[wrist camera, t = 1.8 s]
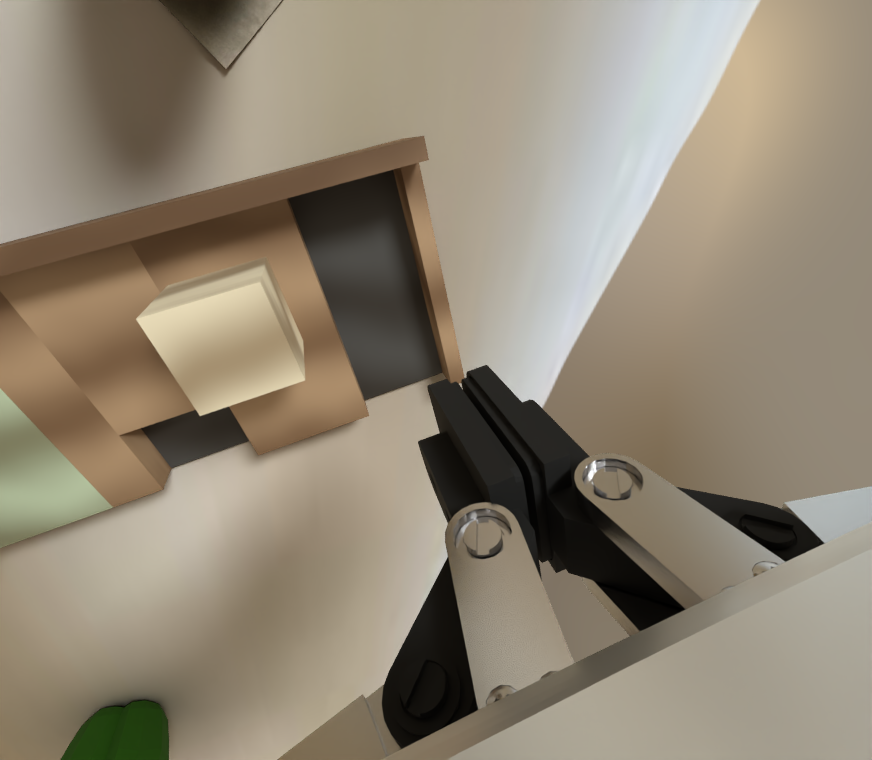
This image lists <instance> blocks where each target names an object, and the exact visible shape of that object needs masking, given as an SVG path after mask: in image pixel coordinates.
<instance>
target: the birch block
mask: <svg viewBox="0 0 872 760" xmlns="http://www.w3.org/2000/svg"><path fill="white" fill-rule="evenodd" d="M136 320H137V322H138V323H139V325H140V326H141V328H142V329H143V331H144V332H145V334H146V335H147V337H148V338H149V340H150V341H151V343H152V344H153V346H154V347H155V349H156V350H157V352H158V353H159V355H160V356H161V358H162V359H163V361H164V362H165V364H166V365H167V367H168V368H169V370H170V371H171V373H172V374H173V376H174V377H175V379H176V380H177V382H178V384H179V385H180V387H181V388H182V390H183V391H184V393H185V394H186V396H187V397H188V399H189V400H190V402H191V403H192V405H193V406H194V408H195V409H196V411H197V412H198V414H199V415H200V416H202V415H205V414H208V413H211V412H214V411H217V410H220V409H222V408H225V407H228V406H231V405H234V404H237V403H240V402H243V401H246V400H249V399H252V398H255V397H258V396H261V395H264V394H267V393H270V392H273V391H276V390H279V389H282V388H285V387H288V386H290V385H293V384H296V383H299V382H302V381H305V364H304V346H303V339H302V337H301V335H300V332H299V330H298V328H297V325H296V323H295V321H294V319H293V316H292V314H291V312H290V309H289V307H288V305H287V303H286V300H285V298H284V296H283V293H282V291H281V289H280V287H279V284H278V282H277V280H276V277H275V275H274V273H273V270H272V268H271V266H270V264H269V261H268V259H267V257H264V258H260V259H257V260H253V261H250V262H246V263H243V264H239V265H236V266H233V267H229V268H226V269H222V270H219V271H215V272H212V273H208V274H205V275H202V276H198V277H195V278H191V279H188V280H184V281H181V282H177V283H174V284H171V285H168V286H167V287H166V288H165V289H164V290H163V291H162V292H161V293H160V294H159V295H158V296H157V297H156V298H155V299H154V300H153V301H152V302H151V304H150V305H149V306H148V307H147V308H146V309H145V310H144V311H143V312H142V313H141V314H140V315H139V316H138V317H137V318H136Z"/></svg>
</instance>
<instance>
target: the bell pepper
mask: <svg viewBox="0 0 872 760" xmlns="http://www.w3.org/2000/svg"><path fill="white" fill-rule="evenodd" d="M61 760H169V733H168V719H167V717H166V715H165V713H164V711H163V709H162V708H161V707H160V705H159V704H158V703H154V702H150V701H147V700H143V701H136V702H131V703H130V704H128V705H127V706H126V707H117V706H115V707H108V708H102V709H100V710H99V711H98V712H96V713H95V714H94V715H93V716H91V717H90V718H89V719H88V720H87V721H86V722H85V723H84V724H83V725H82V726H81V728H80V729H79V731H78V732H77V734H76V735H75V737H74V739H73V740H72V742H71V743H70V745H69V746H68V748H67V750H66V751H65V753H64V755H63V756H62V758H61Z"/></svg>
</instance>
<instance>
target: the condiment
mask: <svg viewBox="0 0 872 760" xmlns="http://www.w3.org/2000/svg"><path fill="white" fill-rule="evenodd" d="M160 1H161V2H162V3H163V4H164V5H165V6H166V7H167V8H168V10H169V11H170V12H171V13H172V14H173V15H174V16H175V17H176V18H177V19H178V20H179V21H180V22H181V23H182V24H183V25H184V26H185V27H186V28H187V29H188V30H189V31H190V32H191V33H192V34H193V35H194V36H195V38H196V39H197V40H198V41H199V42H200V43H201V44H202V45H203V46H204V47H205V48H206V49H207V50H208V51H209V52H210V53H211V54H212V55H213V56H214V57H215V58H216V59H217V60H218V61H219V62H220V63H221V64H222V65H223V66H224V68H225V69H227V67H228V66H229V65H230V64H231V63H232V61H233V60H234V59H235V58H236V56H237V55H238V54H239V53H240V52H241V51H242V49H243V48H244V47H245V46H246V44H247V43H248V42H249V41H250V39H251V38H252V37H253V36H254V34H255V33H256V32H257V30H258V29H259V28H260V27H261V26H262V25H263V24H264V22H265V21H266V20H267V18H268V17H269V16H270V15H271V13H272V12H273V11H274V10H275V8H276V7H277V6H278V5H279V3H280V2H281V1H282V0H160Z"/></svg>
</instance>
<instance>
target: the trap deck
mask: <svg viewBox="0 0 872 760" xmlns="http://www.w3.org/2000/svg"><path fill="white" fill-rule="evenodd" d="M426 160H429V159H428V154H427V149H426V144H425V139H424V136H420V137H413V138H405V139H400V140H396V141H392V142H388V143H384V144H381V145H377V146H373V147H369V148H365V149H362V150H358V151H354V152H350V153H346V154H342V155H339V156H335V157H331V158H327V159H323V160H320V161H316V162H312V163H308V164H304V165H300V166H297V167H293V168H289V169H285V170H281V171H278V172H274V173H270V174H266V175H262V176H258V177H255V178H251V179H247V180H243V181H239V182H236V183H232V184H228V185H224V186H220V187H216V188H213V189H209V190H205V191H201V192H197V193H194V194H190V195H186V196H182V197H178V198H174V199H171V200H167V201H163V202H159V203H155V204H152V205H148V206H144V207H140V208H136V209H132V210H129V211H125V212H121V213H117V214H113V215H110V216H106V217H102V218H98V219H94V220H90V221H87V222H83V223H79V224H75V225H71V226H68V227H64V228H60V229H56V230H52V231H48V232H45V233H41V234H37V235H33V236H29V237H26V238H22V239H18V240H14V241H10V242H6V243H3V244H0V548H2V547H5V546H8V545H10V544H13V543H16V542H19V541H21V540H24V539H27V538H30V537H33V536H35V535H38V534H41V533H44V532H47V531H49V530H52V529H55V528H58V527H61V526H63V525H66V524H69V523H72V522H74V521H77V520H80V519H83V518H86V517H88V516H91V515H94V514H97V513H100V512H102V511H105V510H108V509H111V508H113V507H116V506H119V505H121V504H124V503H127V502H130V501H132V500H135V499H138V498H141V497H144V496H146V495H149V494H152V493H155V492H158V491H160V490H163V489H164V486H165V483H166V481H167V478H168V476H169V473H170V470H171V468H173V467H176V466H179V465H181V464H184V463H187V462H190V461H193V460H196V459H198V458H201V457H204V456H207V455H210V454H213V453H215V452H218V451H221V450H224V449H227V448H230V447H232V446H235V445H238V444H241V443H244V442H247V441H250V442H251V444H252V446H253V447H254V449H255V451H256V452H257V454H258V455H261V454H264V453H266V452H269V451H272V450H275V449H277V448H280V447H283V446H286V445H289V444H291V443H294V442H297V441H300V440H303V439H305V438H308V437H311V436H314V435H317V434H319V433H322V432H325V431H328V430H330V429H333V428H336V427H339V426H342V425H344V424H347V423H350V422H353V421H356V420H358V419H361V418H364V417H367V416H369V414H368V410H367V407H366V403H365V400H366V399H369V398H372V397H374V396H377V395H380V394H383V393H386V392H389V391H391V390H394V389H397V388H400V387H403V386H406V385H408V384H411V383H414V382H417V381H420V380H423V379H425V378H428V377H431V376H434V375H437V374H440V373H442V372H443V374H444V375H445V377H446V378H447V379H448V380H449V382H450V383H453V382H457V383H458V384H459V383H461V380H462V379H464V374H463V369H462V364H461V360H460V355H459V350H458V346H457V341H456V336H455V331H454V327H453V322H452V317H451V313H450V308H449V303H448V298H447V294H446V289H445V284H444V279H443V275H442V270H441V265H440V261H439V256H438V251H437V246H436V242H435V237H434V232H433V228H432V223H431V218H430V213H429V209H428V204H427V199H426V195H425V190H424V185H423V180H422V176H421V171H420V166H419V162H423V161H426ZM264 257H267V259H268V261H269V264H270V266H271V268H272V270H273V273H274V275H275V277H276V280H277V282H278V284H279V287H280V289H281V291H282V293H283V296H284V298H285V300H286V303H287V305H288V307H289V309H290V312H291V314H292V316H293V319H294V321H295V323H296V325H297V328H298V330H299V332H300V335H301V337H302V339H303V346H304V364H305V381H302V382H299V383H296V384H293V385H290V386H288V387H285V388H282V389H279V390H276V391H273V392H270V393H267V394H264V395H261V396H258V397H255V398H252V399H249V400H246V401H243V402H240V403H237V404H234V405H231V406H228V407H225V408H222V409H220V410H217V411H214V412H211V413H208V414H205V415H202V416H200V415H199V414H198V412H197V411H196V409H195V408H194V406H193V405H192V403H191V402H190V400H189V399H188V397H187V396H186V394H185V393H184V391H183V390H182V388H181V387H180V385H179V384H178V382H177V380H176V379H175V377H174V376H173V374H172V373H171V371H170V370H169V368H168V367H167V365H166V364H165V362H164V361H163V359H162V358H161V356H160V355H159V353H158V352H157V350H156V349H155V347H154V346H153V344H152V343H151V341H150V340H149V338H148V337H147V335H146V334H145V332H144V331H143V329H142V328H141V326H140V325H139V323H138V322H137V320H136V318H137V317H138V316H139V315H140V314H141V313H142V312H143V311H144V310H145V309H146V308H147V307H148V306H149V305H150V304H151V302H152V301H153V300H154V299H155V298H156V297H157V296H158V295H159V294H160V293H161V292H162V291H163V290H164V289H165V288H166V287H167V286H168V285H171V284H174V283H177V282H181V281H184V280H188V279H191V278H195V277H198V276H202V275H205V274H208V273H212V272H215V271H219V270H222V269H226V268H229V267H233V266H236V265H239V264H243V263H246V262H250V261H253V260H257V259H260V258H264Z"/></svg>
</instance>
